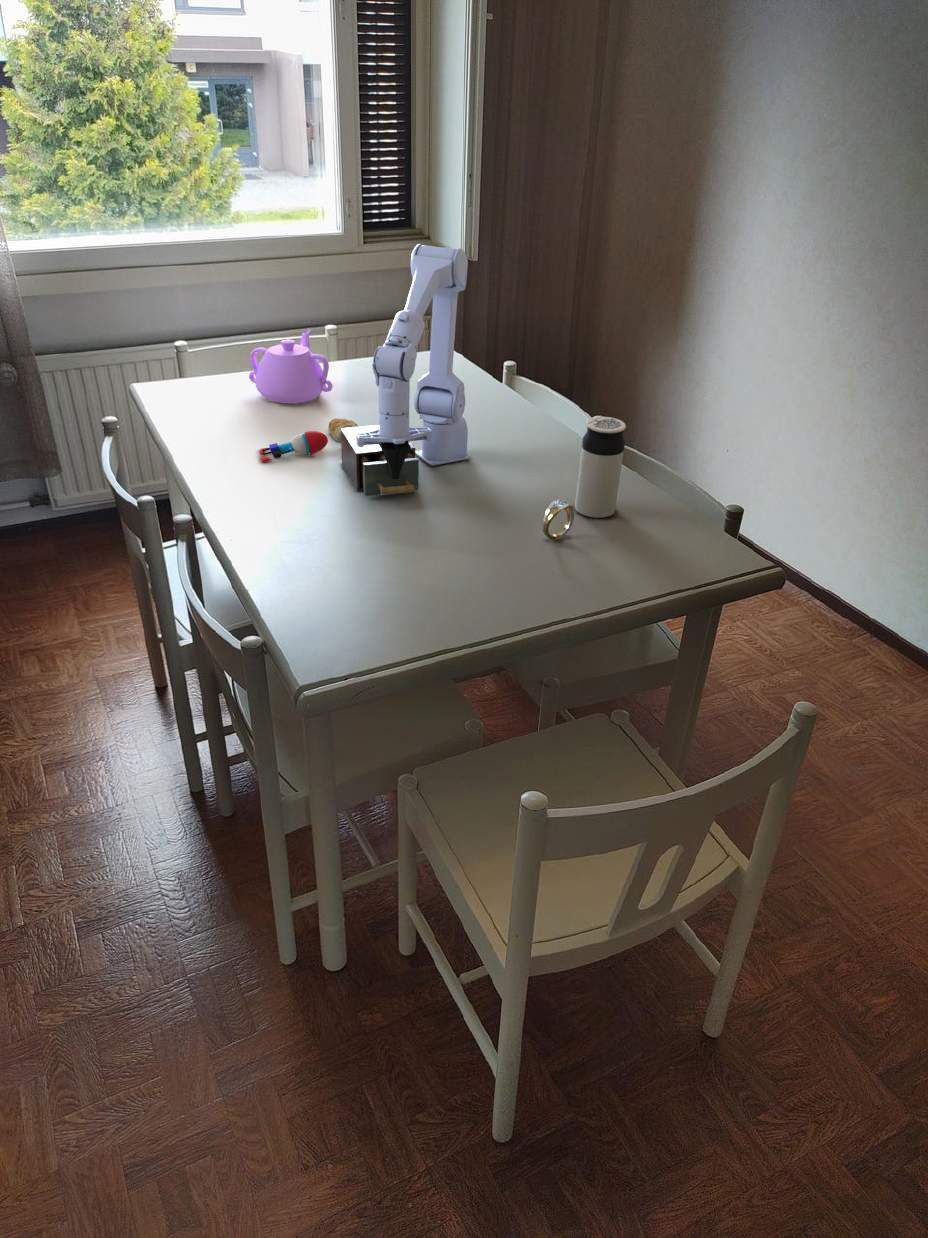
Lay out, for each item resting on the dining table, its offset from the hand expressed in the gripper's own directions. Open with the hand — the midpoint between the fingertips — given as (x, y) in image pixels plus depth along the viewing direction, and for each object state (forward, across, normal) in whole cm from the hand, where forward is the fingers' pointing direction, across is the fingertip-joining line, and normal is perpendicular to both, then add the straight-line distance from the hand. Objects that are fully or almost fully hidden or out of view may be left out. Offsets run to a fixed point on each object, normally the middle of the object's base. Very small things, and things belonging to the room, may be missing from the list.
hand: (394, 477), depth 177 cm
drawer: (+4, 0, +6) cm, 7 cm away
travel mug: (+5, +37, -14) cm, 40 cm away
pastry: (+5, -2, +36) cm, 36 cm away
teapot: (+5, -7, +66) cm, 67 cm away
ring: (+5, +25, -24) cm, 34 cm away
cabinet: (+5, 0, +13) cm, 14 cm away
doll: (+3, 0, +7) cm, 7 cm away
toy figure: (+5, -15, +27) cm, 32 cm away
